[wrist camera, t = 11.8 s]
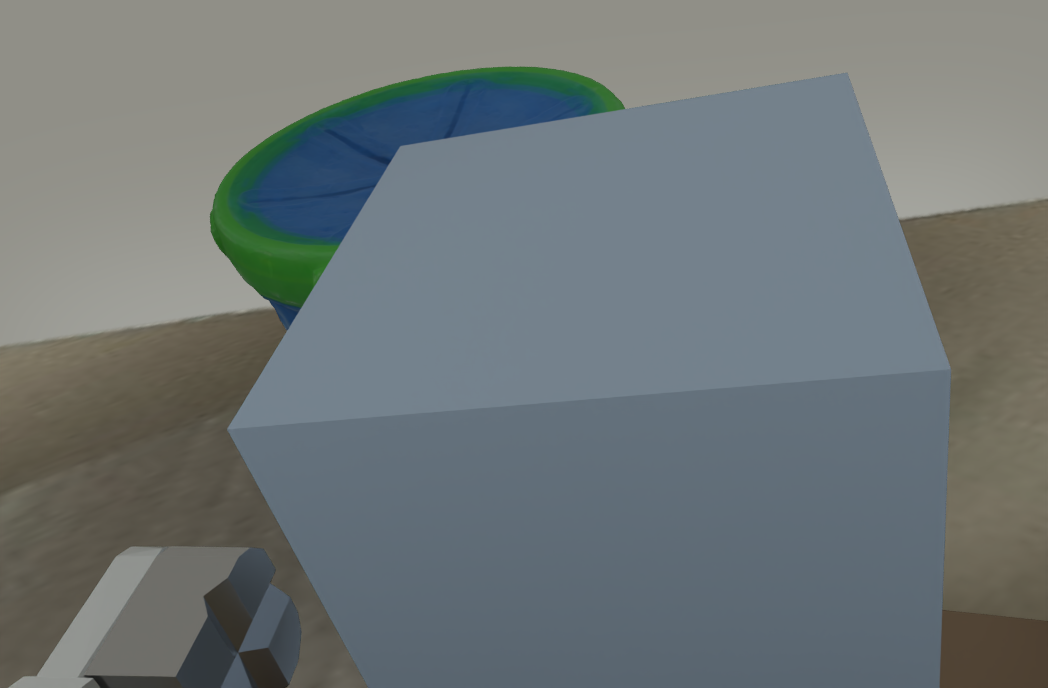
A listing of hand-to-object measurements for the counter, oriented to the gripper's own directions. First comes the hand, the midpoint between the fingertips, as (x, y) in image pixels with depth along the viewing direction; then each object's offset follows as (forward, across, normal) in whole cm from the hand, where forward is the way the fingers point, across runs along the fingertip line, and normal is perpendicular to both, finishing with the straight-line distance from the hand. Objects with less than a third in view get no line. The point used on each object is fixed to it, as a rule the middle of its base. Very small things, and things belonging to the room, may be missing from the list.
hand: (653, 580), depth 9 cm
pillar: (+1, 0, -8) cm, 8 cm away
